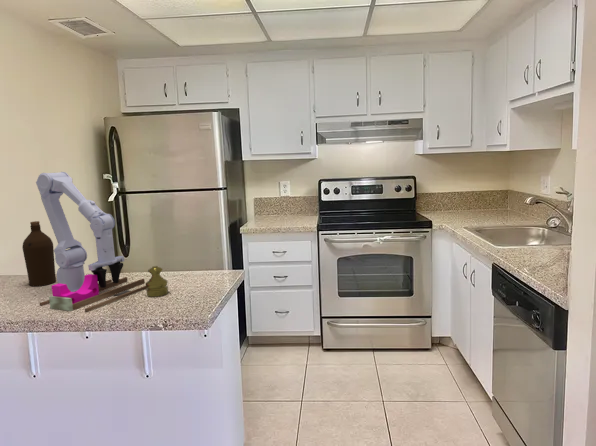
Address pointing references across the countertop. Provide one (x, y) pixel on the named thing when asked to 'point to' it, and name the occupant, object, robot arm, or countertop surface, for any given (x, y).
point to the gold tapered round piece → (156, 283)
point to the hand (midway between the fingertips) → (109, 285)
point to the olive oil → (39, 257)
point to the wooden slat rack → (67, 304)
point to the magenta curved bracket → (85, 292)
